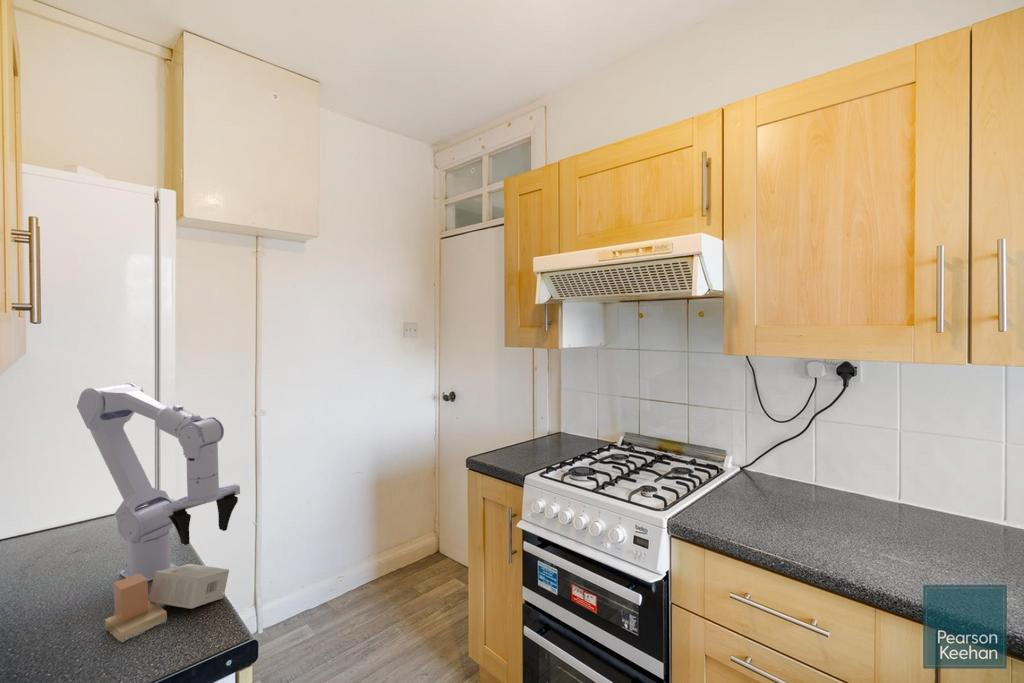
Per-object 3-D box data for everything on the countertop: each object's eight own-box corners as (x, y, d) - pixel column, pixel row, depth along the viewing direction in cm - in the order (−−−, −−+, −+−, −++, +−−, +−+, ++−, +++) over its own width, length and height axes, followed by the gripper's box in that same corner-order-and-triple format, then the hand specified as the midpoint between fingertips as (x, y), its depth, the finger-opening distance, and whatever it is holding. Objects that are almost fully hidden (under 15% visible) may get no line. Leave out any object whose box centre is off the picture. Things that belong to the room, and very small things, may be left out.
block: (114, 614, 86) (113, 582, 86) (140, 603, 90) (139, 573, 90) (122, 621, 84) (120, 589, 84) (148, 610, 88) (147, 579, 87)
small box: (224, 598, 95) (183, 591, 97) (230, 568, 96) (189, 563, 99) (190, 609, 87) (146, 602, 90) (196, 577, 89) (153, 571, 91)
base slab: (105, 629, 85) (105, 619, 85) (150, 609, 91) (150, 599, 91) (121, 643, 81) (120, 632, 81) (167, 621, 87) (166, 611, 87)
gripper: (173, 488, 92) (175, 555, 93) (246, 469, 105) (248, 527, 105) (157, 482, 96) (159, 546, 96) (230, 464, 108) (231, 520, 109)
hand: (204, 536), depth 101 cm, fingers open, 7 cm apart
